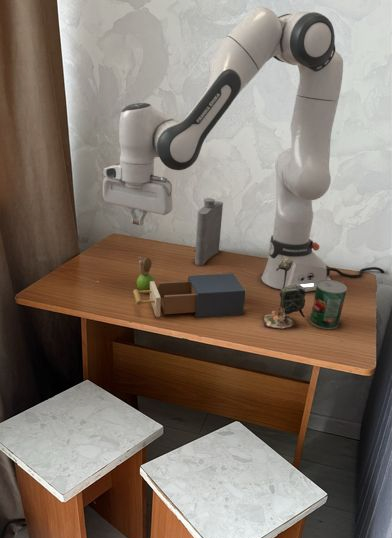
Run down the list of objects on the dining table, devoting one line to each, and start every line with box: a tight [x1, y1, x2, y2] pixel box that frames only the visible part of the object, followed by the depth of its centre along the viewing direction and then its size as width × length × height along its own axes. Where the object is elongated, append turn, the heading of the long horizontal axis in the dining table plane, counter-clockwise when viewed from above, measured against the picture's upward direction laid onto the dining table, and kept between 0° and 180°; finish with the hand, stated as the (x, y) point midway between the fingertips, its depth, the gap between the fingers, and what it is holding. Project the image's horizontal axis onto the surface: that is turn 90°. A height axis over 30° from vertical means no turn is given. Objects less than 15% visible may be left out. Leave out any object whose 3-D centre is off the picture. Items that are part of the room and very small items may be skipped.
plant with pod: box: [262, 256, 306, 330], centre depth 130 cm, size 8×11×20 cm
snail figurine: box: [136, 256, 156, 291], centre depth 144 cm, size 5×6×12 cm
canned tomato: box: [309, 279, 348, 330], centre depth 134 cm, size 8×8×11 cm
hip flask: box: [194, 197, 224, 266], centre depth 167 cm, size 16×4×20 cm, turn 155°
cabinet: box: [187, 273, 246, 319], centre depth 139 cm, size 13×11×7 cm
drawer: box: [132, 280, 197, 318], centre depth 136 cm, size 17×10×6 cm, turn 104°
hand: (137, 224), depth 137 cm, fingers closed
